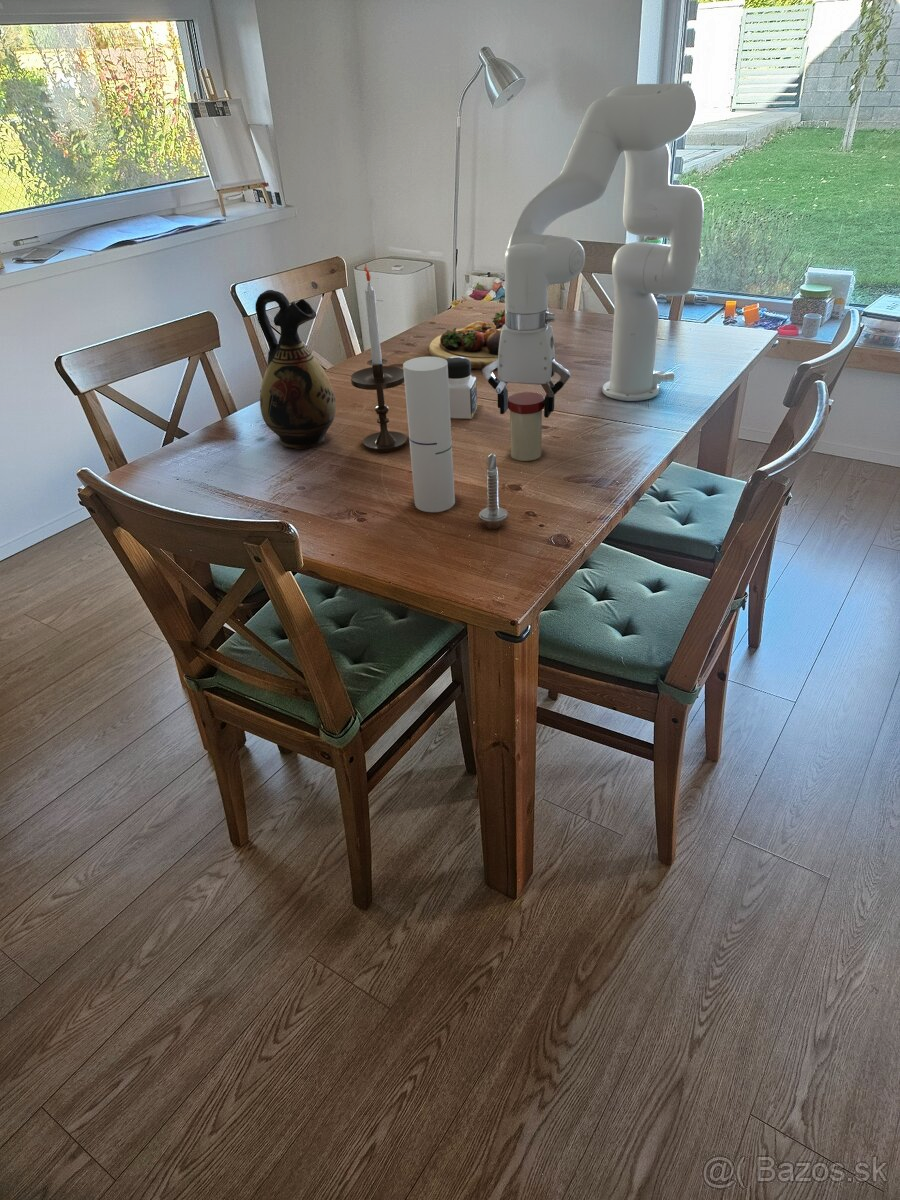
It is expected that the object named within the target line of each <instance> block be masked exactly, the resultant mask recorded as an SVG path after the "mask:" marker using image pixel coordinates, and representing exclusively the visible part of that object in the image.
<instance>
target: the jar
mask: <svg viewBox="0 0 900 1200" xmlns="http://www.w3.org/2000/svg"><path fill="white" fill-rule="evenodd" d="M509 419H510V420H509V421H510V423H509V425H510V426H509V427H510V435H509V437H510V457H511V458H512V459H513V460H516V461H519V462H531V461H535V460H537V459H539V458H541V457H542V443H543V442H542V441H543V440H542V439H543V437H542V435H543V433H542V432H543V431H542V430H543V410H541V411H539V412H536V413H531V414H520V413H515V412H512V411H510V410H509Z"/></svg>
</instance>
